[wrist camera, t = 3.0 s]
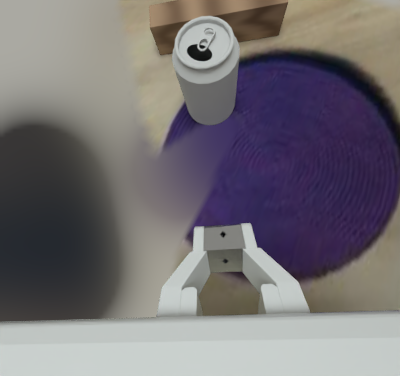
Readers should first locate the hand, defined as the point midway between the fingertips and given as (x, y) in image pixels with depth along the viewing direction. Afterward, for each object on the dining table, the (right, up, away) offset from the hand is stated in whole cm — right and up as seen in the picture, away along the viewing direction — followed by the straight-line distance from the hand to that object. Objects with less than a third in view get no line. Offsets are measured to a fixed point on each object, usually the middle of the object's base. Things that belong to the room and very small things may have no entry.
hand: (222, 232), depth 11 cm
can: (+1, +16, +21) cm, 26 cm away
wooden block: (+2, +29, +23) cm, 37 cm away
